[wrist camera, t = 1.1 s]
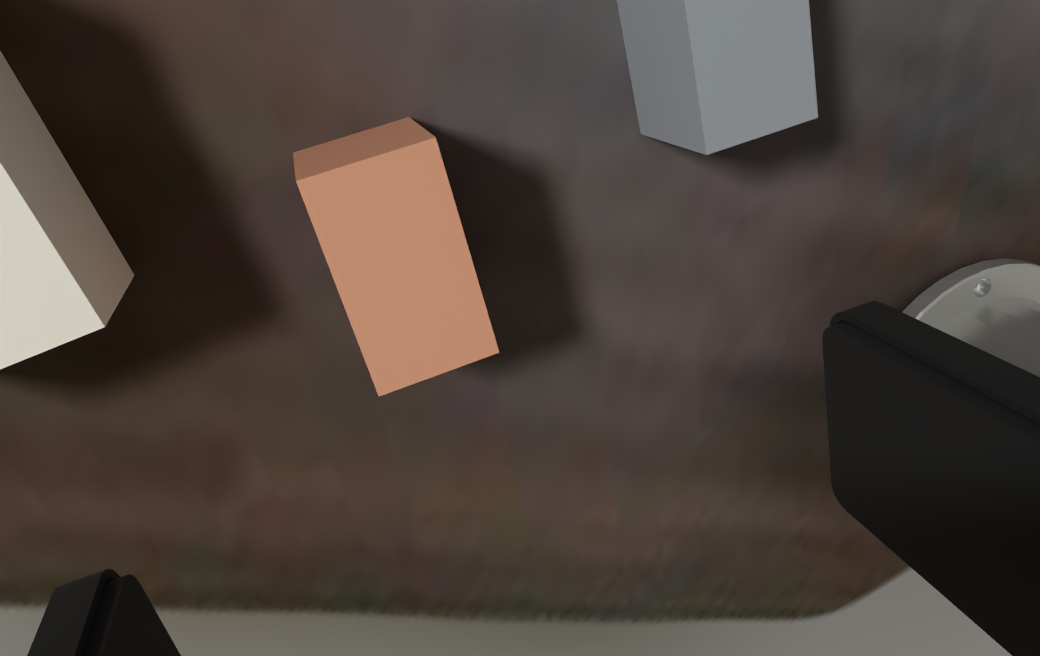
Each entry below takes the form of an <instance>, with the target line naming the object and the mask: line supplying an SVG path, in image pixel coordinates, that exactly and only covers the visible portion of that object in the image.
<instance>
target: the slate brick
mask: <svg viewBox="0 0 1040 656" xmlns="http://www.w3.org/2000/svg"><path fill="white" fill-rule="evenodd" d="M617 4H618V10H619V15H620V21H621V26H622V32H623V37H624V43H625V49H626V54H627V60H628V65H629V71H630V76H631V82H632V87H633V93H634V99H635V104H636V110H637V115H638V121H639V126H640V132H641V134H642V135H645V136H648V137H651V138H654V139H658V140H661V141H664V142H667V143H670V144H673V145H676V146H680V147H683V148H686V149H689V150H692V151H695V152H699V153H702V154H705V155H708V154H711V153H714V152H717V151H720V150H723V149H726V148H729V147H732V146H735V145H738V144H741V143H744V142H747V141H750V140H753V139H756V138H759V137H762V136H765V135H768V134H771V133H774V132H777V131H780V130H783V129H786V128H789V127H792V126H795V125H798V124H801V123H804V122H807V121H810V120H813V119H816V118H818V109H817V97H816V84H815V72H814V59H813V47H812V34H811V22H810V9H809V0H617Z"/></svg>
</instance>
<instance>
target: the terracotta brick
mask: <svg viewBox="0 0 1040 656" xmlns="http://www.w3.org/2000/svg"><path fill="white" fill-rule="evenodd" d="M293 157H294V167H295V176H296V182H297V185H298V187H299V190H300V193H301V195H302V198H303V200H304V203H305V206H306V208H307V211H308V213H309V216H310V219H311V221H312V224H313V226H314V229H315V232H316V234H317V237H318V239H319V242H320V245H321V247H322V250H323V252H324V255H325V258H326V260H327V263H328V265H329V268H330V271H331V273H332V276H333V278H334V281H335V284H336V286H337V289H338V292H339V294H340V297H341V299H342V302H343V305H344V307H345V310H346V312H347V315H348V318H349V320H350V323H351V325H352V328H353V331H354V333H355V336H356V338H357V341H358V344H359V346H360V349H361V351H362V354H363V357H364V359H365V362H366V364H367V367H368V370H369V372H370V375H371V377H372V380H373V383H374V385H375V388H376V390H377V393H378V396H382V395H384V394H387V393H390V392H393V391H395V390H398V389H401V388H404V387H406V386H409V385H412V384H415V383H417V382H420V381H423V380H426V379H428V378H431V377H434V376H437V375H439V374H442V373H445V372H447V371H450V370H453V369H456V368H458V367H461V366H464V365H467V364H469V363H472V362H475V361H478V360H480V359H483V358H486V357H489V356H491V355H494V354H497V353H499V349H498V346H497V343H496V339H495V336H494V332H493V329H492V326H491V322H490V319H489V316H488V312H487V309H486V305H485V302H484V299H483V295H482V292H481V289H480V285H479V282H478V278H477V275H476V272H475V268H474V265H473V261H472V258H471V255H470V251H469V248H468V245H467V241H466V238H465V234H464V231H463V228H462V224H461V221H460V218H459V214H458V211H457V207H456V204H455V201H454V197H453V194H452V191H451V187H450V184H449V180H448V177H447V174H446V170H445V167H444V164H443V160H442V157H441V153H440V150H439V147H438V143H437V140H436V137H435V136H433V135H432V134H431V133H429V132H428V131H427V130H426V129H424V128H423V127H422V126H420V125H419V124H418V123H416V122H415V121H414V120H412V119H411V118H410V117H408V118H404V119H401V120H398V121H395V122H391V123H388V124H385V125H382V126H378V127H375V128H372V129H369V130H365V131H362V132H359V133H356V134H352V135H349V136H346V137H343V138H339V139H336V140H333V141H330V142H326V143H323V144H320V145H317V146H313V147H310V148H307V149H304V150H300V151H297V152H294V153H293Z"/></svg>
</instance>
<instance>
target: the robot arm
mask: <svg viewBox="0 0 1040 656" xmlns="http://www.w3.org/2000/svg"><path fill="white" fill-rule="evenodd" d="M822 341H823V357H824V372H825V388H826V404H827V420H828V435H829V451H830V467H831V482H832V488H833V491H834V494H835V496H836V498H837V500H838V501H839V503H840V504H841V506H842V507H843V508H844V509H845V510H846V511H847V512H848V513H849V514H851V515H852V516H853V517H854V518H855V519H856V520H857V521H859V522H860V523H861V524H862V525H863V526H864V527H865V528H867V529H868V530H869V531H870V532H871V533H872V534H873V535H875V536H876V537H877V538H878V539H879V540H880V541H882V542H883V543H884V544H885V545H886V546H887V547H888V548H890V549H891V550H892V551H893V552H894V553H895V554H896V555H898V556H899V557H900V558H901V559H902V560H903V561H904V562H906V563H907V564H908V565H909V566H910V567H911V568H912V569H914V570H915V571H916V572H917V573H918V574H919V575H921V576H922V577H923V578H924V579H925V580H926V581H927V582H929V583H930V584H931V585H932V586H933V587H934V588H936V589H937V590H938V591H939V592H940V593H941V594H942V595H944V596H945V597H946V598H947V599H948V600H949V601H951V602H952V603H953V604H954V605H955V606H956V607H957V608H958V609H960V610H961V611H962V612H963V613H964V614H965V615H967V616H968V617H969V618H970V619H971V620H972V621H973V622H974V623H976V624H977V625H978V626H979V627H980V628H981V629H983V630H984V631H985V632H986V633H987V634H988V635H989V636H991V637H992V638H993V639H994V640H995V641H996V642H997V643H999V644H1000V645H1001V646H1002V647H1003V648H1004V649H1005V650H1007V651H1008V652H1009V653H1010V654H1011V655H1012V656H1040V265H1037V264H1034V263H1031V262H1028V261H1025V260H1016V259H1008V258H1002V259H994V260H986V261H981V262H978V263H975V264H972V265H969V266H966V267H963V268H961V269H959V270H957V271H955V272H953V273H951V274H950V275H948V276H946V277H944V278H942V279H940V280H939V281H937V282H936V283H935V284H933V285H932V286H931V287H929V288H928V289H927V290H925V291H924V292H923V293H921V294H920V295H919V296H918V297H917V298H916V299H915V300H914V301H913V302H912V303H911V304H910V305H909V306H908V307H907V308H906V309H905V310H904V311H903V312H900V311H898V310H896V309H894V308H892V307H890V306H888V305H886V304H883V303H881V302H878V301H872V302H868V303H865V304H862V305H859V306H856V307H854V308H851V309H848V310H845V311H842V312H839V313H836V314H835V315H834V316H833V317H832V319H831V322H830V327H828V328H826V329H825V330H824V333H823V340H822ZM27 656H181V655H180V654H179V652H178V650H177V648H176V647H175V645H174V643H173V641H172V639H171V638H170V636H169V634H168V632H167V631H166V629H165V627H164V625H163V624H162V622H161V620H160V618H159V616H158V615H157V613H156V611H155V609H154V607H153V606H152V604H151V602H150V600H149V599H148V597H147V595H146V593H145V592H144V590H143V588H142V586H141V585H140V583H139V581H138V580H137V579H136V578H135V577H134V576H133V575H126V576H123V577H120V576H119V575H118V574H117V573H116V572H115V571H114V570H111V569H106V570H103V571H100V572H98V573H95V574H92V575H89V576H86V577H83V578H80V579H78V580H75V581H72V582H69V583H66V584H63V585H61V586H59V587H57V588H56V589H55V591H54V592H53V594H52V596H51V599H50V601H49V603H48V606H47V608H46V611H45V613H44V616H43V618H42V621H41V623H40V626H39V628H38V631H37V633H36V636H35V638H34V641H33V643H32V645H31V648H30V650H29V653H28V655H27Z"/></svg>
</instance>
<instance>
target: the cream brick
mask: <svg viewBox="0 0 1040 656" xmlns="http://www.w3.org/2000/svg"><path fill="white" fill-rule="evenodd" d="M133 277H134V273H133V272H132V270H131V268H130V267H129V265H128V263H127V262H126V260H125V258H124V257H123V255H122V253H121V252H120V250H119V248H118V247H117V245H116V243H115V242H114V240H113V238H112V237H111V235H110V233H109V232H108V230H107V228H106V227H105V225H104V223H103V222H102V220H101V218H100V217H99V215H98V213H97V211H96V210H95V208H94V206H93V205H92V203H91V201H90V200H89V198H88V196H87V195H86V193H85V191H84V190H83V188H82V186H81V185H80V183H79V181H78V180H77V178H76V176H75V175H74V173H73V171H72V170H71V168H70V166H69V165H68V163H67V161H66V160H65V158H64V156H63V155H62V153H61V151H60V150H59V148H58V146H57V145H56V143H55V141H54V140H53V138H52V136H51V135H50V133H49V131H48V130H47V128H46V126H45V125H44V123H43V121H42V120H41V118H40V116H39V115H38V113H37V111H36V110H35V108H34V106H33V104H32V103H31V101H30V99H29V98H28V96H27V94H26V93H25V91H24V89H23V88H22V86H21V84H20V83H19V81H18V79H17V78H16V76H15V74H14V73H13V71H12V69H11V68H10V66H9V64H8V63H7V61H6V59H5V58H4V56H3V54H2V53H1V51H0V369H3V368H5V367H8V366H10V365H12V364H15V363H17V362H20V361H22V360H25V359H27V358H30V357H32V356H35V355H37V354H40V353H42V352H45V351H47V350H50V349H52V348H55V347H57V346H59V345H62V344H64V343H67V342H69V341H72V340H74V339H77V338H79V337H82V336H84V335H87V334H89V333H92V332H94V331H97V330H99V329H101V328H104V327H105V326H106V325H107V323H108V321H109V319H110V318H111V316H112V314H113V312H114V310H115V309H116V307H117V305H118V303H119V302H120V300H121V298H122V296H123V295H124V293H125V291H126V289H127V288H128V286H129V284H130V282H131V281H132V279H133Z"/></svg>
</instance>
